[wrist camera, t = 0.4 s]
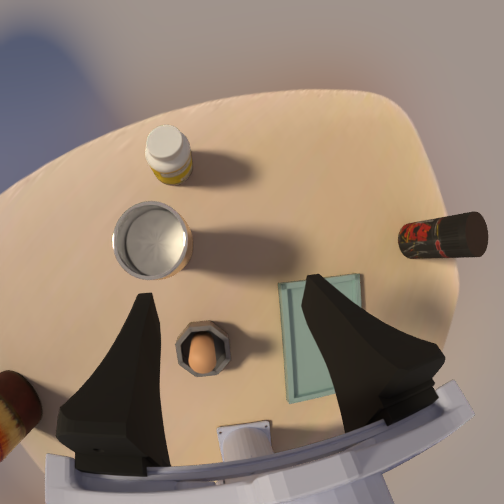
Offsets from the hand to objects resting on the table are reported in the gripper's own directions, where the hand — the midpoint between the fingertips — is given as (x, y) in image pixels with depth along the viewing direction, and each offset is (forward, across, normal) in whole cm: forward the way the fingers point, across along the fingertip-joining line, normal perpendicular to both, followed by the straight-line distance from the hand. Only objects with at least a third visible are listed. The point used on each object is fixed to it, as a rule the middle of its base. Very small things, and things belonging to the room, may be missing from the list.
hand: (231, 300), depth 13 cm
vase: (+11, +37, +31) cm, 49 cm away
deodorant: (+21, -33, +13) cm, 41 cm away
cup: (+15, +2, +23) cm, 27 cm away
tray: (+14, -15, +24) cm, 31 cm away
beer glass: (+23, +5, +12) cm, 27 cm away
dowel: (+15, +2, +22) cm, 27 cm away
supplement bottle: (+30, +4, +3) cm, 30 cm away
